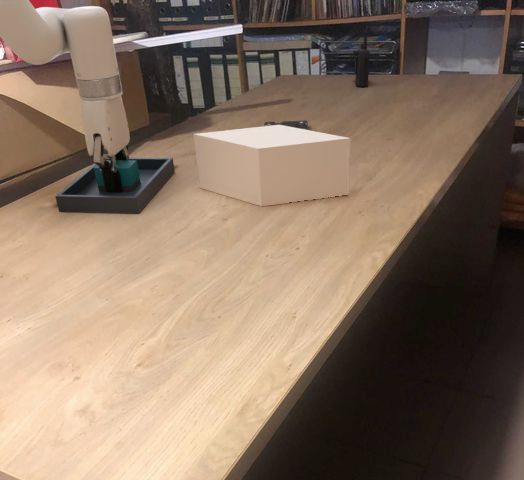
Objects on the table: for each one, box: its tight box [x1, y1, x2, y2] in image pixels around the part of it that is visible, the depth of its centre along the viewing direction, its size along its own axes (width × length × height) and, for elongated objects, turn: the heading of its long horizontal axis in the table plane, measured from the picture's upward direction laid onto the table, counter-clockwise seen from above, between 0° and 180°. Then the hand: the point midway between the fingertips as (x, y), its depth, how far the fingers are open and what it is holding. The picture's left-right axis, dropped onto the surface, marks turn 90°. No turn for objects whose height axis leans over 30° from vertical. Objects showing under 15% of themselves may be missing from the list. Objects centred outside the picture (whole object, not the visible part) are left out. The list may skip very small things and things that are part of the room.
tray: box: [54, 157, 176, 215], centre depth 116 cm, size 22×16×3 cm
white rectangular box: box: [193, 125, 351, 207], centre depth 109 cm, size 14×29×10 cm, turn 75°
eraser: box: [94, 160, 141, 191], centre depth 115 cm, size 7×4×4 cm, turn 79°
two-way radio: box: [352, 29, 371, 88], centre depth 174 cm, size 6×4×15 cm
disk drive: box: [263, 120, 309, 130], centre depth 136 cm, size 10×3×15 cm
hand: (119, 185), depth 116 cm, fingers closed on eraser, 4 cm apart
